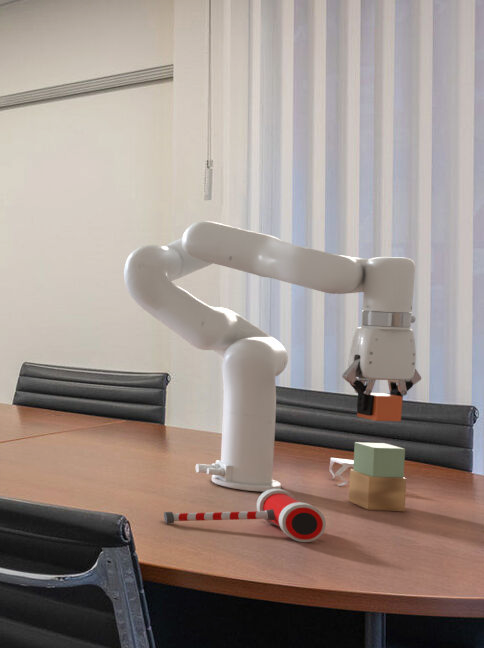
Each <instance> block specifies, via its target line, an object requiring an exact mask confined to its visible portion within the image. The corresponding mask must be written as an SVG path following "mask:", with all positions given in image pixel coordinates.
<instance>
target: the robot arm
mask: <svg viewBox="0 0 484 648" xmlns="http://www.w3.org/2000/svg"><path fill="white" fill-rule="evenodd" d="M211 265H218V266H223V267H226V268H229V269H232V270H233V269H234V270H237V271H239V272H240V271H242V272H243V273H247V274H251V275H255V276H257V277H258V276H259V277H261V278H268V279H269V278H270V279H274V280H278V281H281V282H285V283H288V284H292V285H296V286H300V287H303V288H307V289H311V290H313V291H317V292H321V293H326V294H330V295H331V294H332V295H333V294H334V295H345V294H356V293H363V296H362V308H361V309H362V311H361V322H360V323H361V324H360V326H359V327H356V328H355V331H354V333H353V336H352V340H351V343H350V349H349V354H348V362H347V369H346V370H345V371H344V372H343V373H342V374H341V376H342V379H344V380H345V381H346V382H347V383H349V385H350V386H351V387H352V388H353V390H354V392H355V393H356V394H357V403H356V412H357V413H359V414H364V415H372V414H373V403H374V395H371V393H373V389H374V387H375V383H376V381H387V385H388V389H389V392H387V393H386V394H391V395H396V396H402V397H403V399H402V403H403V400H404V397H405V396H407V394H408V392H409V390H410V389H412V388H413V386H415V385H416V384H417V383H419V382H420V381H421V380H422V376H421V374H420V373H419V371H418V370H417V368H416V361H417V359H416V358H417V355H416V353H417V351H416V341H415V340H416V339H415V333H414V329H412V324H414V323H415V322H416V317H415V316H414V315H412V314H413V301H414V291H415V277H416V275H415V274H416V263H415V261H414V260H413V259H412V258H409V257H398V256H394V257H393V256H379V257H378V256H377V257H372V258H362V257H354V256H347V255H341V254H335V253H330V252H325V251H322V250H318V249H313V248H309V247H305V246H301V245H297V244H293V243H291V242H287V241H283V240H282V239H280V238H278V237H276V236H274V235H270V234H265V233H260V232H256V231H252V230H247V229H243V228H239V227H234V226H231V225H226V224H223V223H220V222H216V221H215V222H214V221H209V220H199V221H196V222H194V223H192V224H191V225H189V226H188V227H187V228H186V229H185V231H184V232H183V235H182V236H181V237H180V238H179V239H176V240H173V241H171V242H169V243H167V244H164V245H158V244H157V245H156V244H147V245H142V246H139V247H138V248H136V249H134V250H133V251H131V252H130V254H129V255H128V256H127V259H126V260H125V263H124V266H123V267H124V268H123V281H124V285H125V288H126V290H127V292H128V294H129V295H130V297H131V298H132V300H134V302H135V303H136V304H137V305H138V306H139V307H141V309H143V310H144V311H145V312H146V313H148V314H149V315H151V316H152V317H154V318H155V319H157V321H159V322H161V323H162V324H163V325H164V326H165V327H167V328H168V329H170V330H171V331H173V332H174V333H175V334H177V335H178V336H179V337H181V338H182V339H183V340H185V341H186V342H187V343H189V344H190V345H191V346H193V347H194V348H196V349H199V350H203V351H214V352H215V353H217V354H218V355H219V356H221V357H222V363H221V374H222V386H223V392H222V393H223V397H222V423H221V424H222V426H221V445H220V447H221V448H220V459H216V460H215V463H211V464H205V463H196V464H195V472H196V473H197V474H207V475H209V476H211V482H212V483H214V484H215V485H219V486H221V487H224V488H229V489H235V490H241V491H249V492H262V493H263V492H265V491H267V490H269V489H282V484H281V482H280V481H278V480H275V479H274V477H273V476H274V460H275V459H274V457H275V436H276V416H277V414H276V413H277V386H276V377H278V376H279V375H280V374H282V373H283V372H284V371H285V369H286V368H287V365H288V361H289V356H288V353H287V349H286V348H285V347H284V345H283V344H282V343H281V342H280V341H279V340H277V339H276V338H275V337H273V336H271V335H270V334H269V333H267V332H266V331H264V330H263V329H261V328H259V327H258V326H257V325H255V324H253V322H250V321H249V320H248V319H246V318H244V317H243V316H241V315H239V314H238V313H236V312H234V311H233V310H230V309H229V308H227V307H220V306H210V305H208V304H207V303H205V302H203V301H202V300H201V299H198V298H197V297H195V296H194V295H192V294H191V293H189V291H187V290H185V289H183V288H182V287H180V286H179V285H177V284H175V283H173V281H177V280H178V279H181V278H183V277H185V276H188V275H190V274H193V273H194V272H197V271H199V270H202V269H204V268H206V267H209V266H211ZM357 413H356V414H357ZM402 413H403V411H402V412H401V414H402Z"/></svg>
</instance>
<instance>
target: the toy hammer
mask: <svg viewBox="0 0 484 648" xmlns="http://www.w3.org/2000/svg"><path fill="white" fill-rule="evenodd" d="M255 507H256V511H255V510H253V511H225V512H224V511H218V512H217V511H216V512H215V511H213V512H181V513H173V511H164V512H163V518H164V519H163V520H164V522H165V524H174V522H195V521H197V522H199V521H202V522H203V521H237V520H239V521H240V520H264V521H265V522H267V523H268V524H271V525H273V526H278V527H279V528H280V530H281V531H282V532H283V534H284V535H286V536H287V537H289V538H290V539H292V540H294V541H295V542H299V543H309V542H313V541H316V540H318V539H319V538H320V537H321V536H322V535H323V534H324V532H325V531H326V525H327V524H326V519H325V516H324V514H323V513H322V511H320V510H319V509H318V508H317V507H315V506H313V505H311V504H310V503H307V502H302V501H299V500H298V498H297V497H296V496H294V494H292V493H290V492H289V491H287V490H285V489H282V488H281V489H269V490H267V491H265V492H262V493H261V494H260V495H259V497H258V498H257V501H256V506H255Z"/></svg>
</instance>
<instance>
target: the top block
mask: <svg viewBox="0 0 484 648" xmlns="http://www.w3.org/2000/svg"><path fill="white" fill-rule="evenodd" d="M371 395H374V403H373V414H372V415H364V414H359V413H356V417H358V418H362V419H367V420H371V421H375V422H401V421H402V413H403V402H402V399H403V400H404V396H403V397H402V396H396V395H391V394H390V393H389V394H387V393H385V392H371ZM401 412H402V413H401Z"/></svg>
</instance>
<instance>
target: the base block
mask: <svg viewBox="0 0 484 648" xmlns="http://www.w3.org/2000/svg"><path fill="white" fill-rule="evenodd" d="M348 486H349V487H348V489H349V490H348V502H350V503H353V504H355V505H356V506H359V507H361V508H364V509H365V510H368V511H386V512H387V511H389V512H406V511H405V510H406V495H407V477H403V478H400V477H372V476H369V475H366V474H363V473H360V472H357V471H354V470H353V469H350V471H349V485H348Z"/></svg>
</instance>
